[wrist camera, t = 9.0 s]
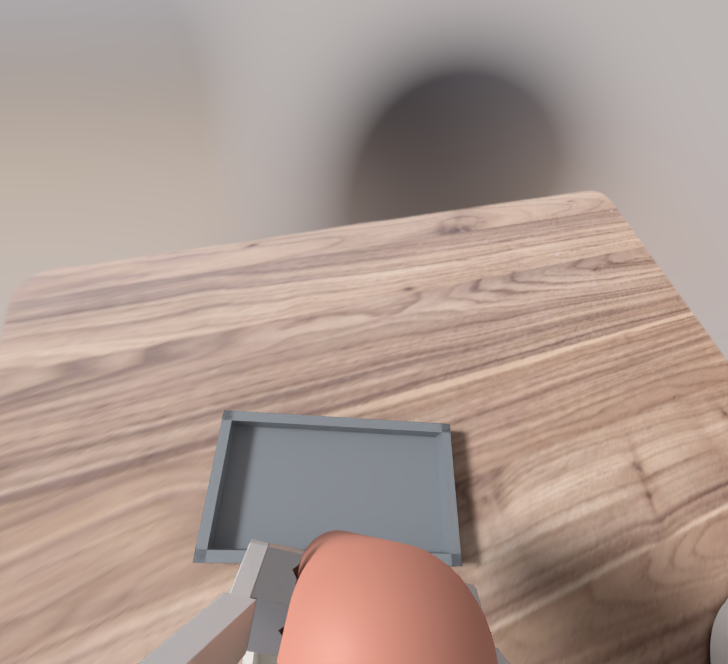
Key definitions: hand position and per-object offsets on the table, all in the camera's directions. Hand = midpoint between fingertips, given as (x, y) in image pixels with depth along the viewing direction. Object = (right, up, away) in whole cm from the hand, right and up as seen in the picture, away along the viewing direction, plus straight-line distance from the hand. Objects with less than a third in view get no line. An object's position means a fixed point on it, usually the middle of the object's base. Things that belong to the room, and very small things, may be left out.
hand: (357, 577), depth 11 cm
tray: (-2, -7, +21) cm, 22 cm away
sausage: (-1, -4, +6) cm, 7 cm away
